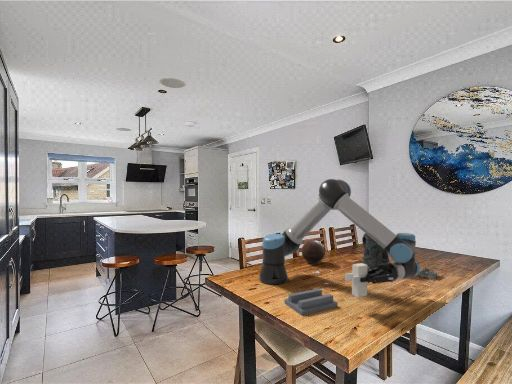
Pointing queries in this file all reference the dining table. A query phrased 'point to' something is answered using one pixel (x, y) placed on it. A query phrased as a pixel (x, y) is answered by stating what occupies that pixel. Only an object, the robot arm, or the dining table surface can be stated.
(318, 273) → the paper
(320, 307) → the rack
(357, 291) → the white rectangular block
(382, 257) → the black irregular block
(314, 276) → the dining table surface
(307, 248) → the wooden sphere
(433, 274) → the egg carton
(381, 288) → the dining table surface
